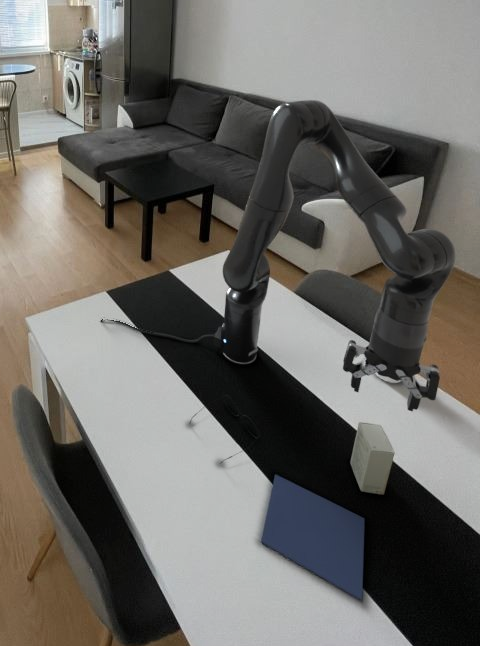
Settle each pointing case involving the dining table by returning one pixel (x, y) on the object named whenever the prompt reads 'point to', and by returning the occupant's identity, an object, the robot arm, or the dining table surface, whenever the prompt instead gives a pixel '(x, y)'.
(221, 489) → the dining table surface
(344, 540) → the cloth
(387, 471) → the cosmetic box
